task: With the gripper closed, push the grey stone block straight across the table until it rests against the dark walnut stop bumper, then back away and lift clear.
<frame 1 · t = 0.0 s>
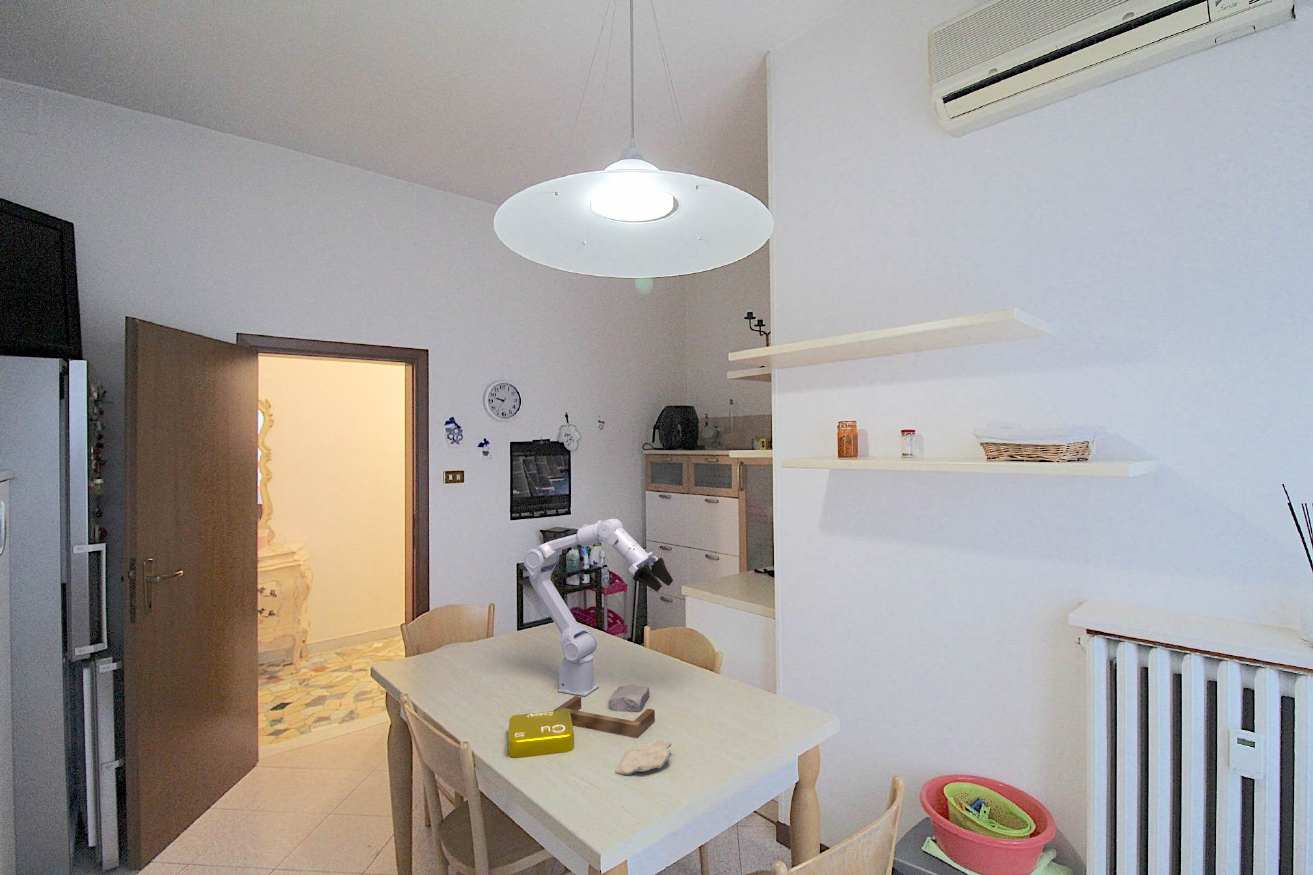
hand: (665, 585, 171), 32 cm above the table, tool tilted 50°, fingers open, 7 cm apart
element tile: (540, 743, 150), on the table
stop bumper: (596, 727, 156), on the table
decorative stone: (645, 765, 138), on the table
stone block: (628, 704, 171), on the table
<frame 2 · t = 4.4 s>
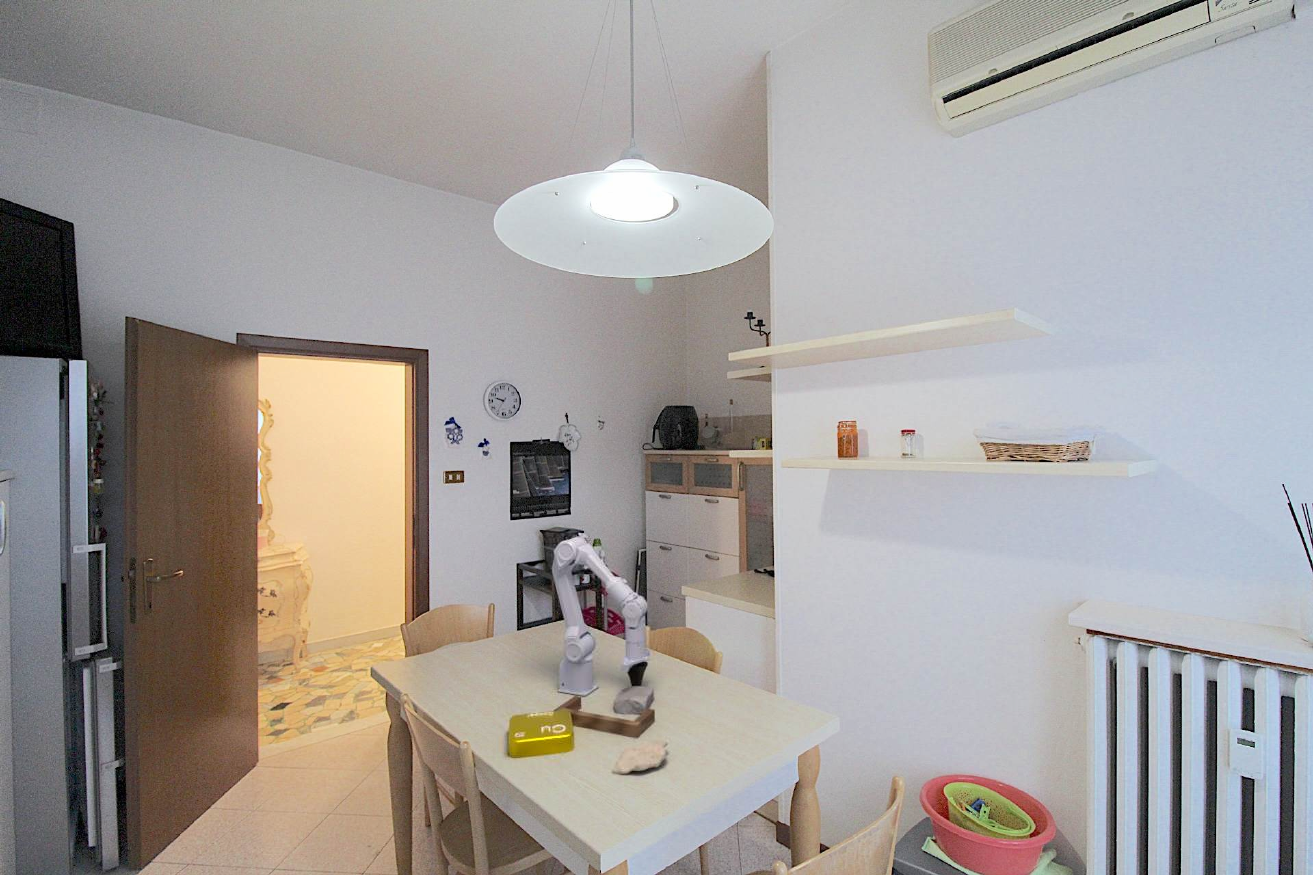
hand: (636, 688, 176), 2 cm above the table, tool pointing down, fingers closed
stone block: (632, 706, 170), on the table, touching gripper
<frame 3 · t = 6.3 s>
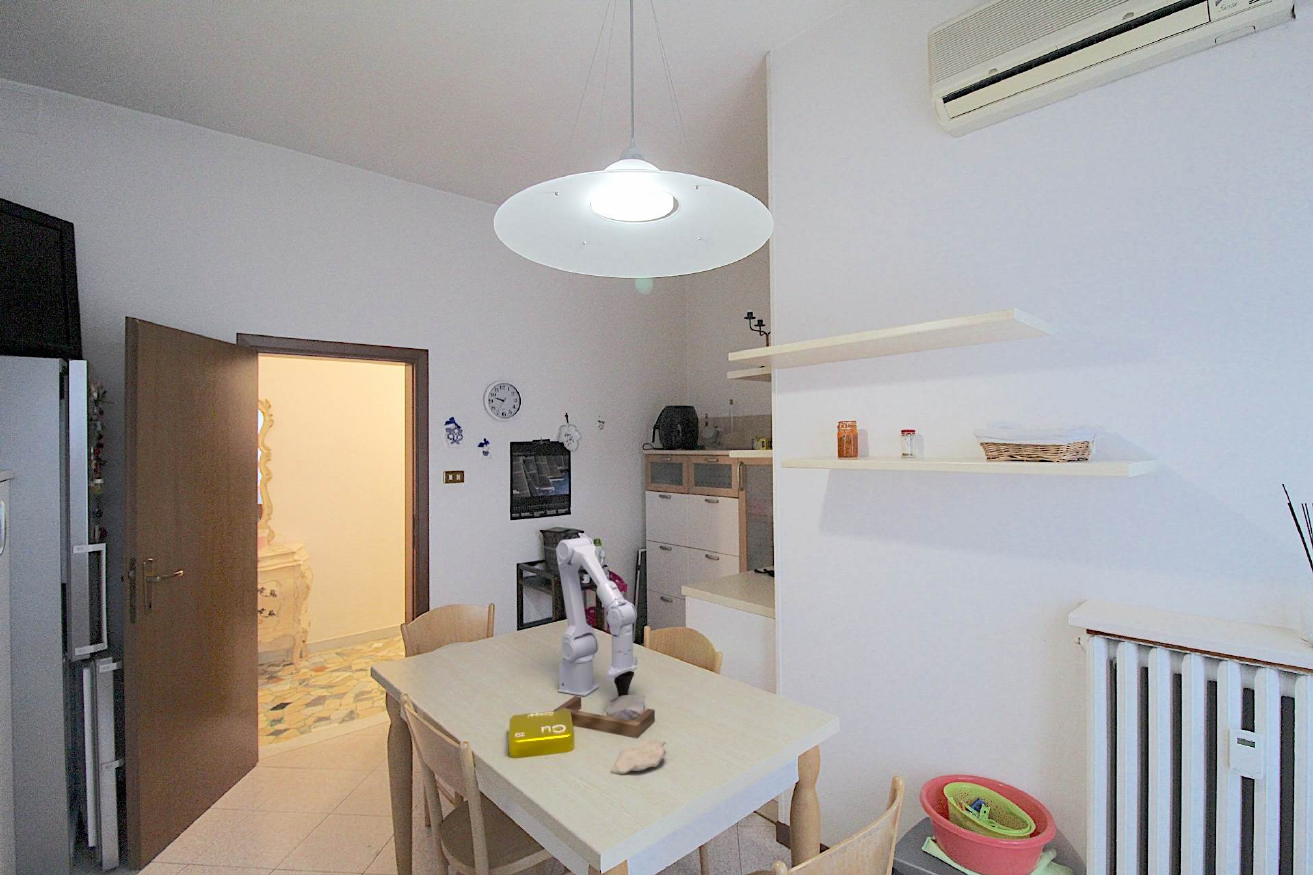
hand: (622, 699, 170), 2 cm above the table, tool pointing down, fingers closed, pressing on stone block
stone block: (625, 716, 163), on the table, touching gripper, stop bumper
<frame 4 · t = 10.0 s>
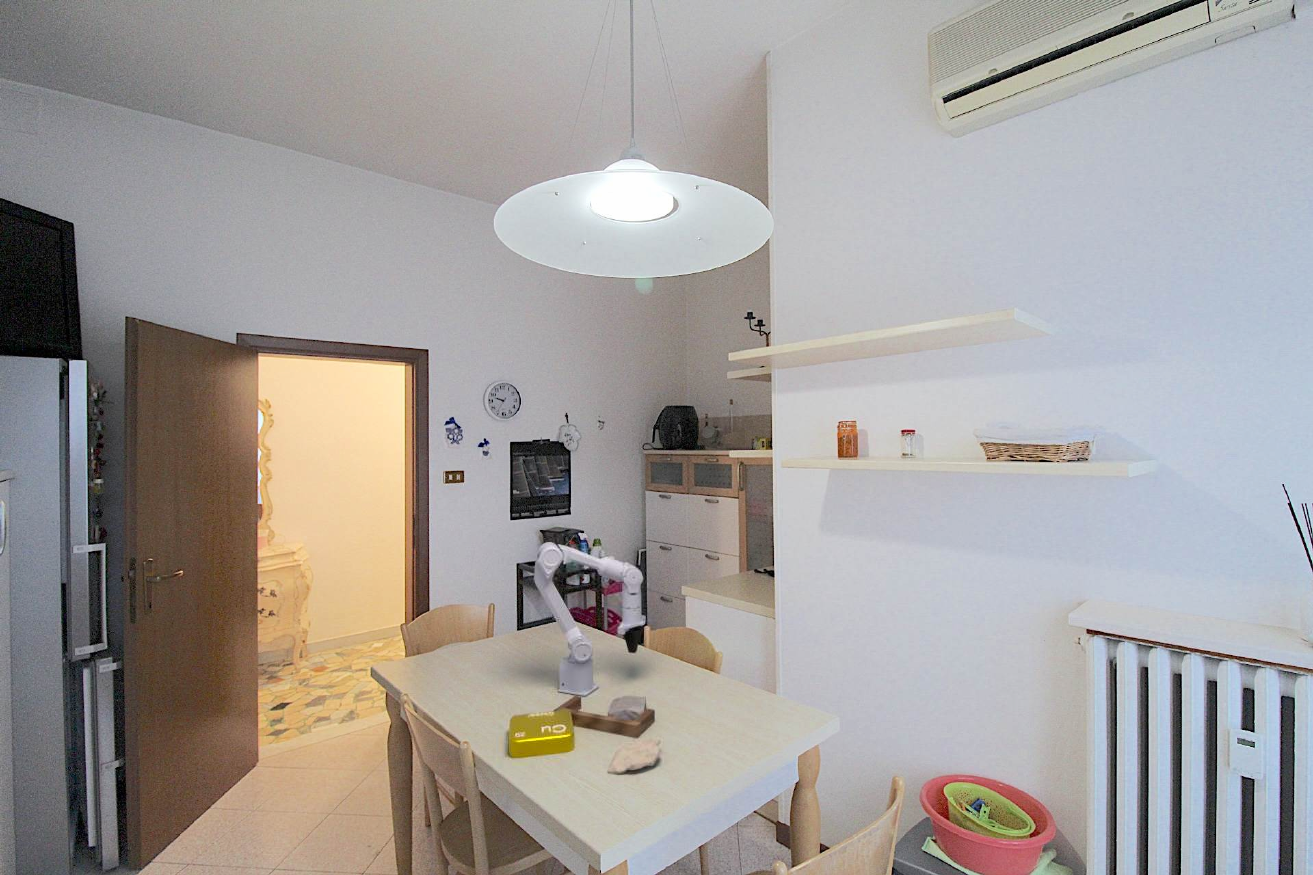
hand: (632, 652, 186), 9 cm above the table, tool pointing down, fingers closed
stone block: (627, 717, 163), on the table
at the end: stone block 4.1 cm from the target spot, on the table; stone block tilted 0°; the gripper is holding nothing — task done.
